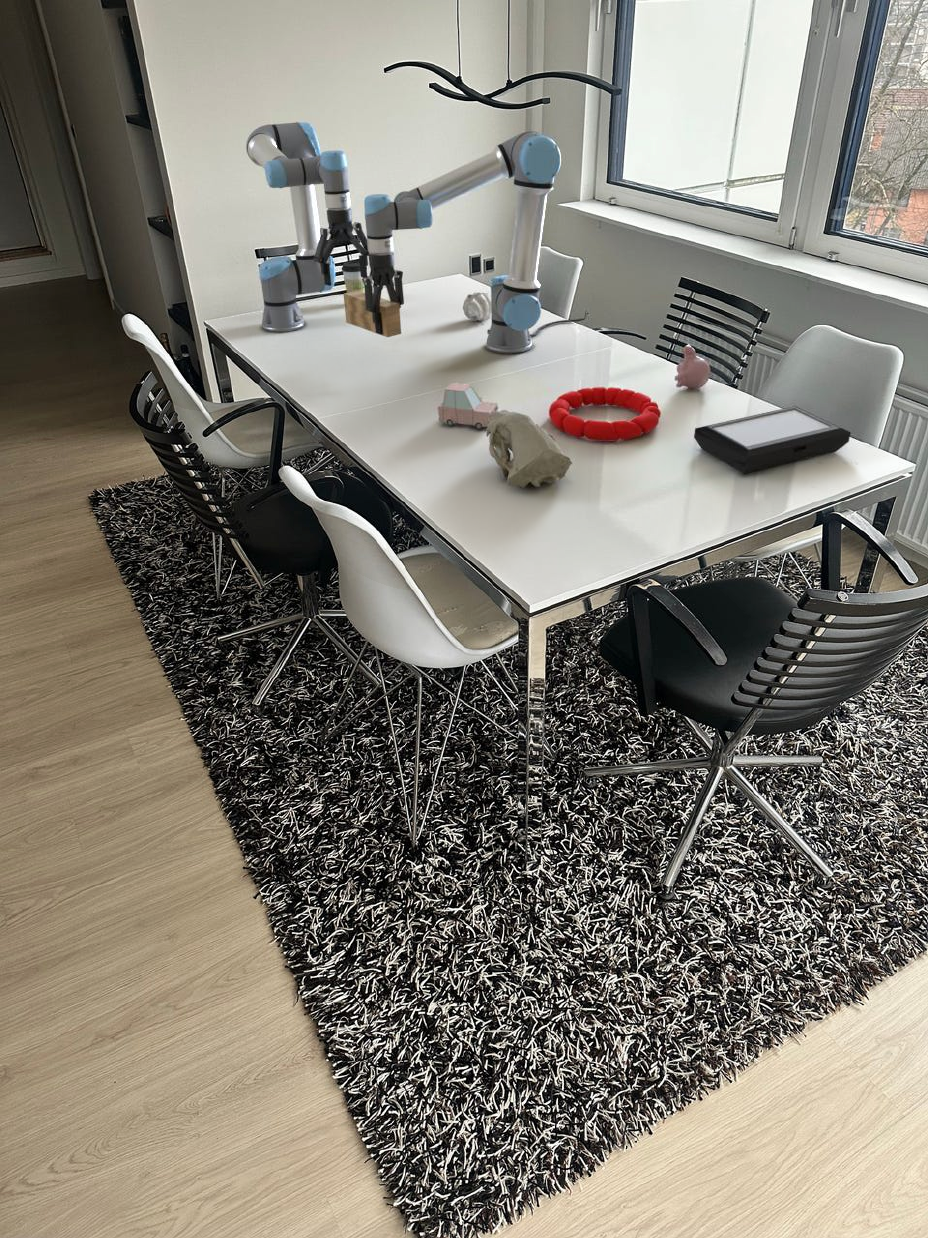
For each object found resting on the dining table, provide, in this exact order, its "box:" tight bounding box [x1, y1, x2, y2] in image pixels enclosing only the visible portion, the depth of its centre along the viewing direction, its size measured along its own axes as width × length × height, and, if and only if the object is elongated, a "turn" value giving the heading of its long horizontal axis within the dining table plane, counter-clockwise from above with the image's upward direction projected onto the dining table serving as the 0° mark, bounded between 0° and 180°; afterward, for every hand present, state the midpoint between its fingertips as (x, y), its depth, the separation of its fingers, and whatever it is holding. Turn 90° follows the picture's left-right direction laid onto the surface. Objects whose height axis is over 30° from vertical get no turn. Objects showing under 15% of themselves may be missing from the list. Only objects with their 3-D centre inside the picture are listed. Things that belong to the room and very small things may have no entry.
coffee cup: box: [341, 260, 368, 293], centre depth 344 cm, size 10×10×15 cm
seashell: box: [462, 292, 492, 322], centre depth 323 cm, size 10×15×10 cm
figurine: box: [674, 344, 711, 390], centre depth 259 cm, size 9×11×12 cm
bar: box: [343, 291, 402, 338], centre depth 279 cm, size 23×5×9 cm, turn 40°
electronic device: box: [693, 405, 852, 475], centre depth 223 cm, size 32×6×20 cm
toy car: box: [437, 382, 499, 431], centre depth 243 cm, size 9×15×10 cm, turn 70°
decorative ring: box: [548, 386, 661, 442], centre depth 242 cm, size 7×30×30 cm
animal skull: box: [485, 409, 573, 489], centre depth 216 cm, size 17×25×20 cm
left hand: (346, 281), depth 282 cm, fingers open, 13 cm apart
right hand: (387, 331), depth 276 cm, fingers closed on bar, 5 cm apart
